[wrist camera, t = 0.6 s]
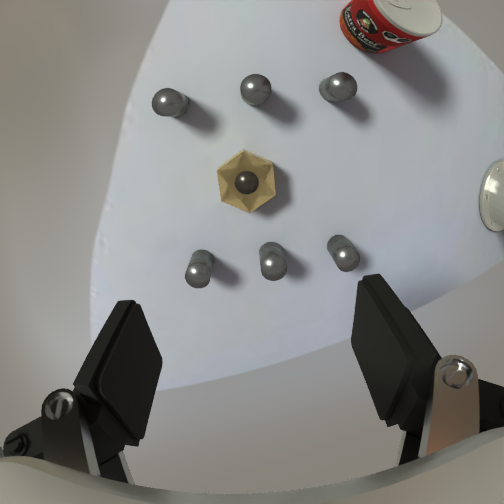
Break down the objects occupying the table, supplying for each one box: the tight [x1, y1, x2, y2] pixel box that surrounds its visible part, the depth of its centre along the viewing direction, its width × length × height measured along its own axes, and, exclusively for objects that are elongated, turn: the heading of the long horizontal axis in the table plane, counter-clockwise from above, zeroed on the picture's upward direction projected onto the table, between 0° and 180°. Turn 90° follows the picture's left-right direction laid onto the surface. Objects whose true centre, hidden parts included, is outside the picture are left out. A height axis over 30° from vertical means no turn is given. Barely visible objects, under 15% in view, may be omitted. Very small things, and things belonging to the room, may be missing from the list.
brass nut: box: [217, 149, 276, 213], centre depth 31 cm, size 7×6×3 cm
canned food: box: [340, 0, 442, 53], centre depth 19 cm, size 8×8×11 cm
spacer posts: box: [152, 72, 360, 288], centre depth 31 cm, size 21×23×4 cm
